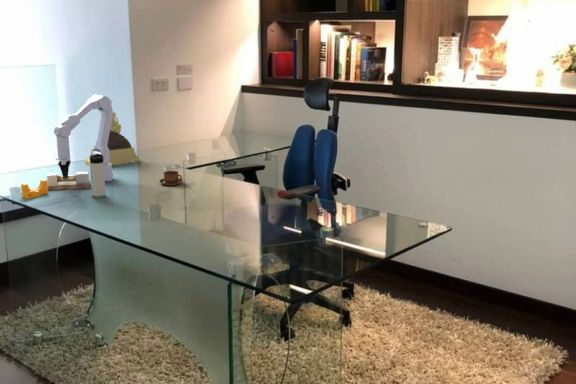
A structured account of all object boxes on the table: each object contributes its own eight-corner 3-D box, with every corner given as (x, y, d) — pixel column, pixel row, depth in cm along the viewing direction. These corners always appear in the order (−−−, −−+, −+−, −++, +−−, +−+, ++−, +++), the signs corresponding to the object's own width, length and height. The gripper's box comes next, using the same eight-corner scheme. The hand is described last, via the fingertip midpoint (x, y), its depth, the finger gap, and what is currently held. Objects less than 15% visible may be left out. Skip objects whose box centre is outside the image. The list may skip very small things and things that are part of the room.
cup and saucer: (184, 181, 339) (184, 169, 337) (181, 187, 327) (181, 175, 325) (161, 181, 338) (161, 169, 337) (157, 187, 327) (157, 175, 325)
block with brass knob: (83, 180, 327) (82, 167, 325) (83, 181, 324) (82, 168, 322) (55, 181, 323) (54, 168, 322) (55, 182, 320) (54, 169, 319)
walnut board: (89, 181, 333) (89, 179, 333) (88, 188, 320) (88, 186, 320) (46, 183, 328) (46, 181, 328) (43, 190, 315) (43, 188, 315)
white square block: (58, 183, 325) (57, 172, 323) (57, 185, 320) (56, 175, 319) (48, 183, 324) (47, 173, 322) (47, 186, 319) (46, 175, 318)
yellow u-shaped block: (27, 199, 301) (26, 185, 299) (22, 197, 303) (21, 184, 302) (50, 194, 310) (49, 181, 309) (44, 192, 313) (43, 179, 311)
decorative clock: (129, 157, 391) (127, 108, 383) (139, 161, 381) (137, 111, 373) (85, 163, 373) (81, 112, 365) (94, 167, 364) (91, 115, 356)
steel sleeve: (89, 182, 329) (88, 171, 327) (88, 184, 324) (88, 173, 323) (76, 182, 327) (76, 172, 326) (76, 185, 323) (75, 174, 321)
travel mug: (107, 194, 311) (104, 153, 306) (103, 198, 304) (101, 156, 299) (94, 194, 311) (91, 153, 305) (90, 197, 304) (87, 156, 299)
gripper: (56, 146, 325) (58, 172, 328) (53, 152, 311) (56, 179, 315) (70, 146, 326) (72, 172, 330) (69, 151, 313) (71, 178, 316)
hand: (65, 175), depth 322 cm, fingers closed on block with brass knob, 3 cm apart
